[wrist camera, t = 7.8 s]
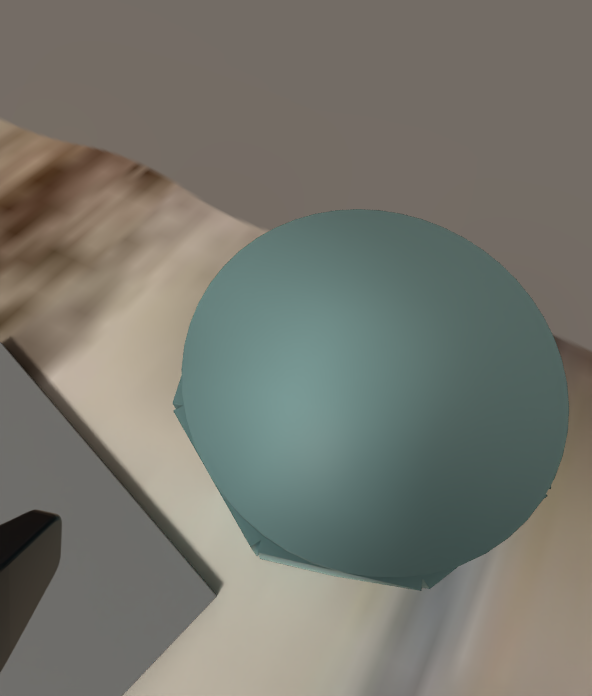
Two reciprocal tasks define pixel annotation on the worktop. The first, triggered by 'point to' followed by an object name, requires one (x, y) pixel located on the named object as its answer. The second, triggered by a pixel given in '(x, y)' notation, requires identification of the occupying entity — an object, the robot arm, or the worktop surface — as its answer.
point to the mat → (86, 558)
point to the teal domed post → (373, 397)
